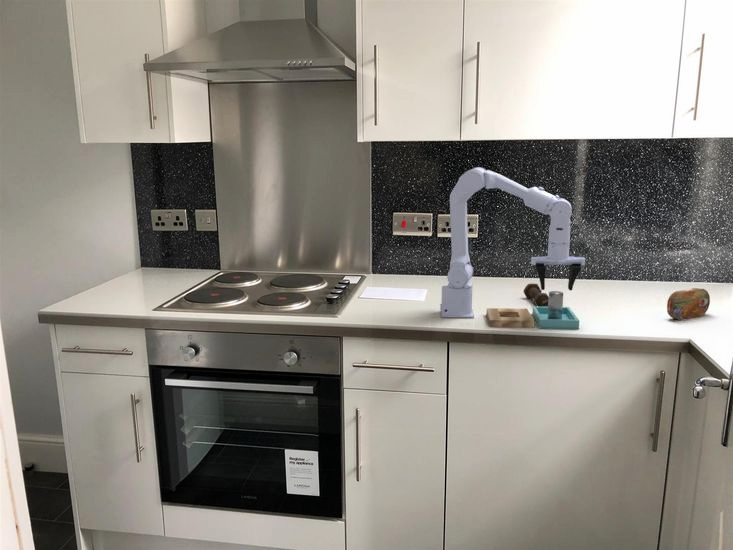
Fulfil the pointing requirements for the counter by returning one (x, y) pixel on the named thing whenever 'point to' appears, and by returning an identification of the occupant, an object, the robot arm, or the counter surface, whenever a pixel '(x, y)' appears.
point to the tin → (688, 303)
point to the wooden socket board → (509, 317)
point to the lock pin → (555, 305)
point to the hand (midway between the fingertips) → (556, 289)
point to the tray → (566, 322)
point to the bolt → (536, 295)
